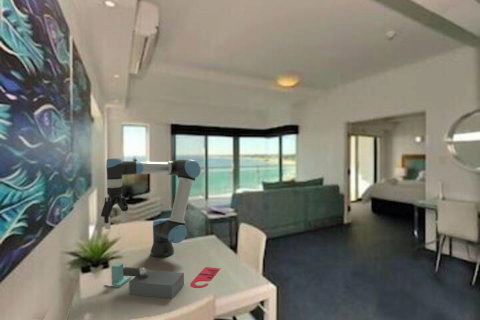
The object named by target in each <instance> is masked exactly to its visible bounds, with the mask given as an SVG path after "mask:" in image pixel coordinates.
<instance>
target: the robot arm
mask: <svg viewBox="0 0 480 320" xmlns="http://www.w3.org/2000/svg"><path fill="white" fill-rule="evenodd" d="M105 168H106V186H107V188H106V189H107V190H106V192H107V195H109V196H108V197H106V196H105V198H104V202H103V207H102V211H101V215H100V217H102V218H103V219H104V221H103V222H104V229H105V230H111V212H112V210H113V208H114V206H115V205H117V206H118V207H119V208H120V223H121V224H123V223H124V224H126V223H127V211H129V210H128V209H129V205H128V203H127V200H126V196H125V193H123V176H131V175H141V174H142V175H143V174H144V175H145V174H148V175H150V174H165V175H167V176H175V177H177V180H178V183H177V188H176V191H175V197H174V201H173V205H172V210H171V213H170V217H168V218H167V217H166V218H159V219H155V220H153V222H152V239H153V240H152V241H153V243H152V246H151V249H150V256H151V257H153V258H164V257H166V258H167V257H168V256H171V255H173V254H174V253H175V248H174V245H173V244H179V243H181V242H182V241H184V240H185V238H186V237H187V233H188V230H187V227H186V221H185V215H186V211H187V208H188V207H187V205H188V201H189V199H190V198H189V196H190V194H191V188H192V184H193V183H195V181H196V178H198V177H199V176H200V174H201V166H200V164H199V162H198V161H197V160H194V159H178V160H177V159H176V160H166V161H140V160H139V161H137V160H133V161H131V160H130V161H129V160H128V161H127V160H126V161H124V160H123V159H122V158H119V157H118V158H116V157H115V158H111V157H110V158H107V159H106V167H105Z"/></svg>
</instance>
